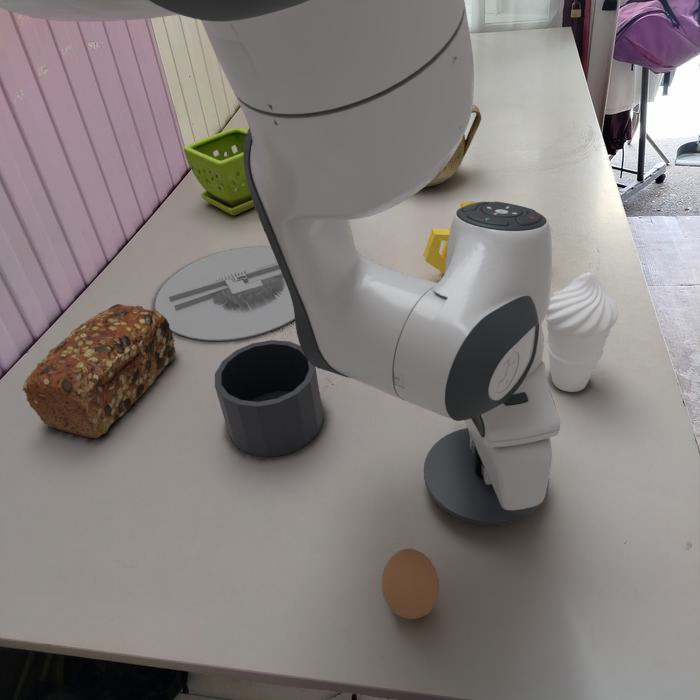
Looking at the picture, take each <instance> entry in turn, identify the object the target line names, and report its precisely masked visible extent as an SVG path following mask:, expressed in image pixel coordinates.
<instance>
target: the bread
mask: <svg viewBox="0 0 700 700" xmlns="http://www.w3.org/2000/svg"><path fill="white" fill-rule="evenodd" d="M175 341H176V340H175V339H174V336H173V332H172V331H171V330H170V328H169V323H168V321H167V319H166V318H165V317H164V316H163V315H162V314H161V313H159V312H158V311H156V309H154V310H151V309H147V308H144V307H143V306H141V305H136V306H134V305H127V304H121V303H117V304H114V305H111V306H110V307H109V308H107V309H106V310H104V311H101V312H98V313H97V314H96V315H95V316H93V317H91V318H89V319H88V320H86V321H85V322H82V323H81V324H80V325H79V326H78V327H76V328H74V329H73V330H72V331H71V332H70V334H69V335H68V336H66V337H65V338H64V339H63V340H61V341H60V342H59V343H58V344H57V345H56V346H55V347H53V348H51V349H50V350H49V351H48V354H47V355H46V356H45V357H44V358H43V359H42V361H41V362H37V364H36V365H37V366H36V367H35V368H34V369H33V370H32V371H31V373H30V375H28V376H27V378H26V379H25V380H24V383H23V386H22V388H23V389H21V390H22V391H23V392H24V393H25V395H26V401H27V403H29V406H30V407H31V408H32V410H34V411H35V413H36V415H37V416H38V417H39V419H40V420H41V421H42V422H43V424H45V425H47V426H49V427H51V428H53V429H56V430H58V431H63V432H65V433H70V434H73V435H76V436H80V437H84V438H88V439H98V438H100V437H101V436H102V435H104V434H107V433H108V430H109V428H110V426H111V425H112V424H113V423H114V422H116V421H117V420H118V419H119V418H121V417H122V416H124V415H125V413H126V412H127V411H128V410H130V408H131V407H132V406H133V404H135V402H137V401H138V399H139V398H140V397H142V395H144V393H146V391H147V390H148V389H149V388H150V387H151V386H152V385H153V384H154V383H155V381H156V379H157V378H158V376H160V375H161V372H163V371H165V368H166V366H167V365H168V364H169V363H170V362H172V361H173V359H174V358H175V355H176V348H175Z"/></svg>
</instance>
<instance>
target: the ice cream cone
mask: <svg viewBox="0 0 700 700" xmlns="http://www.w3.org/2000/svg"><path fill="white" fill-rule="evenodd" d="M546 316H547V317H545V321H546V328H547V343H546V350H547V353H548V358H549V366H550V376H551V382H552V383H553V386H555V387H556V388H557V389H558V390H561V391H563V392H568V393H576V392H581V391H582V390H584V389H585V388H586V386H587V385H588V383H589V380H590V379H591V377H592V375H593V373H594V370H595V368H596V367H597V365H598V362H599V361H600V360H601V358H602V356H603V354H604V347H605V345H606V340H607V339H608V337H609V336H610V333H611V329H612V328H613V327H614V326H615V325H616V323H617V320H618V318H619V308H618V305H617V302H615V300H614V298H613V297H612V296H611V295H610V294H609V293H607V292H606V291H605V290H604V287H603V285H602V283H601V281H600V279H599V278H598V277H597V276H596V275H595V274H594V273H592V272H589V271H588V272H584V273H582V274H580V275H579V276H578V277H576V278H575V279H573V280H572V281H571V282H570V283H569V285H567V286H564V287H562V289H561V290H558V291H554V292H553V293H552V297H550V301H549V308H548V311H547V314H546Z"/></svg>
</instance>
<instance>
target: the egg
mask: <svg viewBox="0 0 700 700" xmlns="http://www.w3.org/2000/svg"><path fill="white" fill-rule="evenodd" d="M381 590H382V594H383V595H382V596H383V597H384V600H385V603H386V604H387V606H388V607H389V608H390V610H391V611H392V612H393V613H394V614H396V615H397V616H399V617H401V618H402V619H408V620H417V619H421V618H423V617H425V616H426V615H428V614H429V613H430V612H431V611H432V610H433V608H434V607H435V606H436V603H437V601H438V598H439V595H440V579H439V575H438V572H437V568H436V566H435V565H434V564H433V561H432V560H431V559H430V558H429V557H428V556H427V554H425V553H424V552H422V551H420V550H418V549H415V548H404V549H400V550H398V551H397V552H396V553H394V554H393V555H392V556H391V557H390V558H389V560H388V561H387V563H386V564H385V566H384V568H383V572H382V577H381Z"/></svg>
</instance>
